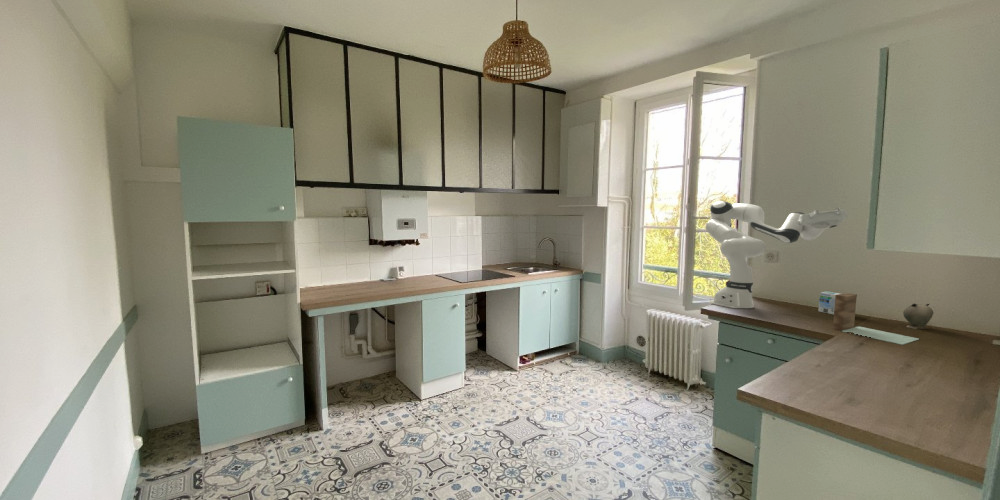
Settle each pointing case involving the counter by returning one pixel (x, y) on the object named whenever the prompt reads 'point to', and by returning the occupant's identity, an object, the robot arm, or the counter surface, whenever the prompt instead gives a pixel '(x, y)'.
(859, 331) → the sage board
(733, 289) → the robot arm
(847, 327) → the walnut domino
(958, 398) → the counter surface
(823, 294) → the light bulb box
